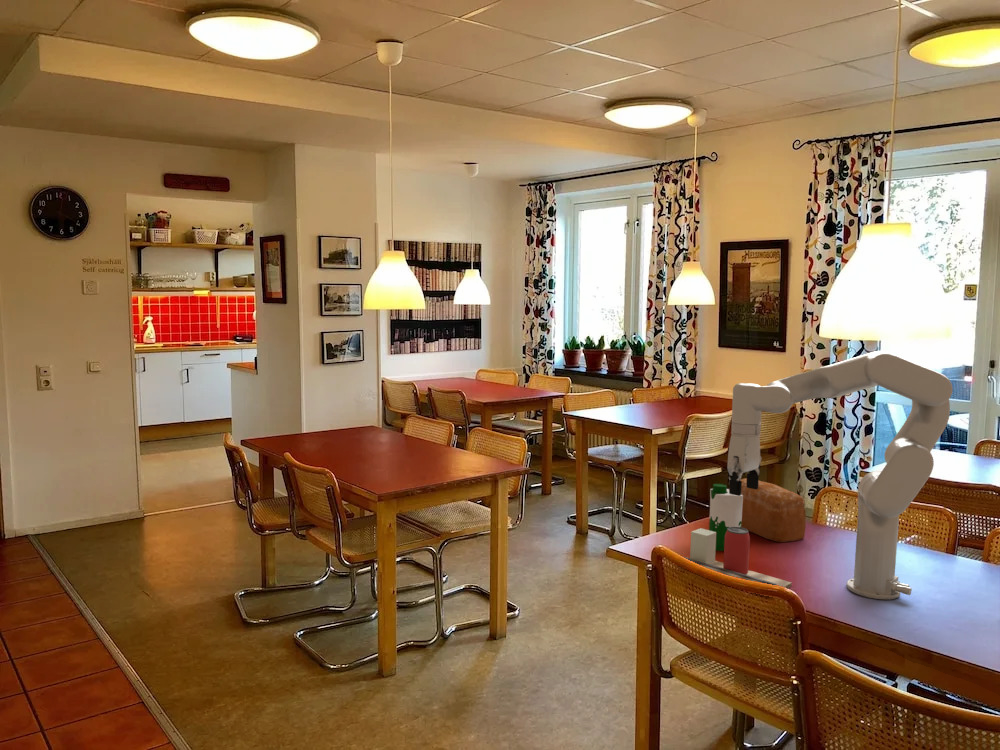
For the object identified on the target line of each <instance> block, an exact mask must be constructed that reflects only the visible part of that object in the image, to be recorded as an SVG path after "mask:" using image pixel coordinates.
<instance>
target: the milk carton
mask: <svg viewBox="0 0 1000 750" xmlns="http://www.w3.org/2000/svg"><path fill="white" fill-rule="evenodd" d="M709 497H710V499H709V520H708V521H709V522H708V524H709V526H708V530H710V531H714V532H716V550H715V552H724V544H725V534H726V532H727V528H729V527H741V523H742V504H743V495H742V494H741V495H740V496H738V495H732V494H730V493H729V488H728V486H727V485H726V484H724V483H714V484H712V488H710V489H709Z"/></svg>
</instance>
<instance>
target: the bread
mask: <svg viewBox="0 0 1000 750" xmlns="http://www.w3.org/2000/svg"><path fill="white" fill-rule="evenodd" d="M740 481H742V487H741V494H742V495H743V504H742V523H741V528H745V529H747V530H748V532H749V533H753V534H756V535H757V536H760V537H762V538H764V539H768V540H770V541H772V542H778V543H786V542H787V543H788V542H795V541H796V542H797V541H800V540H803V539H804V538H805V535H806V534H805V533H806V523H807V522H806V521H807V520H806V519H807V518H806V513H807V512H806V509H805V503H806V502H805V501H806V500H805V499H804V498H803V497H802V496H801V495H800V494H797V493H796V492H793V491H791V490H788V489H787V488H785V487H782V486H779V485H777V484H775V483H774V484H773V483H772V482H771V483H770V482H766V481H761V480H759V482H758V489H751V488H747V477H746V478H745V477H744V478H741V479H740Z"/></svg>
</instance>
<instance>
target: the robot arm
mask: <svg viewBox="0 0 1000 750" xmlns="http://www.w3.org/2000/svg"><path fill="white" fill-rule="evenodd" d="M877 386H879V387H881V388H883V389H885V390H888V391H890V392H892V393H894V394H896V395H899V396H902V397H903V398H906V399H909V400H911V403H912V404H911V410H910V412H909V415H908V416H907V418H906V419H905V420H904V421H905V422H904V423H903V425H901V427H900V429H899V430H898V432H897V433H896V434H895V436H894V437H893V439H892V440H891V442H890V443H888V446H887V447H886V449H885V451H884V460H885V463H886V464H885V466H884V467H883V468H882V470H874V471H870V472H868V473H866V474H865V475H864V476H863V477H862V478H861V480H860V481H859V484H858V488H857V527H856V541H855V557H854V570H853V578H850V579H848V580H847V581H846V588H847V590H849V591H851V592H852V593H854V594H857V595H858V596H862V597H865V598H870V599H875V600H895V599H897V598H899V597H900V596H901V594H903V595H907V596H911V594H912V592H913V591H912V587H911V586H910V585H909V584H906V583H901V582H900V581H899V576H897V575H896V565H897V564H896V561H897V560H896V559H897V549H898V536H899V523H900V521H899V519H900V518H899V517H900V515H901V514H903V513H904V512H905V511H906V510H907V508H909V506H910V505H911V503H912V502H913V501H914V499H915V498H916V497H917V495H918V494H919V492H920V491H921V489H922V488H923V487H924V485H925V484H926V483H927V481H928V479H930V476H931V474H932V472H933V470H934V466H935V465H934V462H935V461H934V457H933V454H932V453H931V452H932V450H933V449H934V447H935V446H936V444H937V442H938V441H939V439H940V437H941V436H942V434H943V432H944V431H945V429H946V428H947V425H948V422H949V420H950V413H951V404H950V398H951V397H952V395H953V390H954V389H953V385H952V382H951V379H949V378H948V377H947V376H946V375H945V374H943V373H941V372H938V371H936V370H933V369H932V368H931V369H930V368H928V367H925V366H923V365H921V364H918V363H915V362H913V361H910V360H908V359H906V358H903V357H902V356H899V355H897V354H895V353H892V352H889V351H886V350H875V351H871V352H869V353H868V352H867V353H865V354H861V355H858V356H856V357H851V358H849V359H845V360H843V361H838V362H836V363H832V364H829V365H825V366H821V367H818V368H815V369H812V370H808V371H805V372H802V373H800V372H799V373H797V374H794V375H790V376H787V377H784V378H781V379H780V378H779V379H778V380H774V381H771V382H770V383H767V385H765V386H764V385H762V386H761V385H759V384H757V383H752V382H751V383H750V382H748V383H747V382H740V383H736V384H735V385H734V386H733V388H732V402H731V403H732V405H731V407H732V408H731V409H732V410H731V411H732V412H731V433H730V434H731V436H730V440H729V446H728V455H727V467H726V468H727V472H728V473H727V475H728V480H729V488H728V489H729V493H730V494H732V495H738V496H740V495H741V487H742V481H740V480H741V479H742V476H743V474H745V473H746V478H747V488H751V489H758V482H759V481H760V480H759V479H760V476H759V475H760V472H761V471H760V468H761V462H762V458H763V457H762V456H761V442H760V441H761V440H760V436H761V433H762V432H761V430H762V412H766V413H771V414H783V413H786V412H787V411H789V410H790V409H791V408H792V406H793V405H794V404H797V403H800V402H804V401H808V400H814V399H820V398H821V399H822V398H823V399H824V398H825V399H834V398H838V397H840V398H841V397H843V396H846V395H849V394H853V393H855V392H860V391H862V390H865V389H871V388H873V387H877Z"/></svg>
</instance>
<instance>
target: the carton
mask: <svg viewBox="0 0 1000 750" xmlns="http://www.w3.org/2000/svg"><path fill="white" fill-rule="evenodd" d="M715 550H716V532H714V531H710V530H709V529H705V528H703V527H702V528H701V527H700V528H697V529H695V530H692V531H691V532H690V552H689V558H690V559H694V560H697V561H700V562H704V563H707V564H711V565H712V564H714V563H715V561H716V551H715Z"/></svg>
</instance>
